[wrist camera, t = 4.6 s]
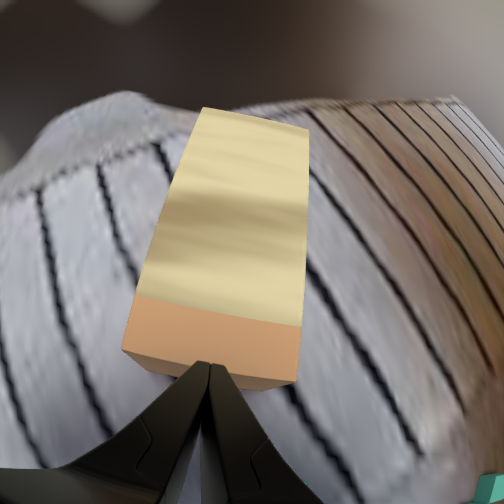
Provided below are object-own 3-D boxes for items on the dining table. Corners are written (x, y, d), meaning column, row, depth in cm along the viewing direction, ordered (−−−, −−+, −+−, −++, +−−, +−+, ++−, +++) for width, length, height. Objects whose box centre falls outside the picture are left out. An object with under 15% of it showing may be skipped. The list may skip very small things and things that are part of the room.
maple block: (296, 381, 10) (308, 129, 16) (120, 349, 9) (203, 107, 16) (261, 391, 15) (282, 194, 22) (146, 370, 15) (197, 177, 21)
